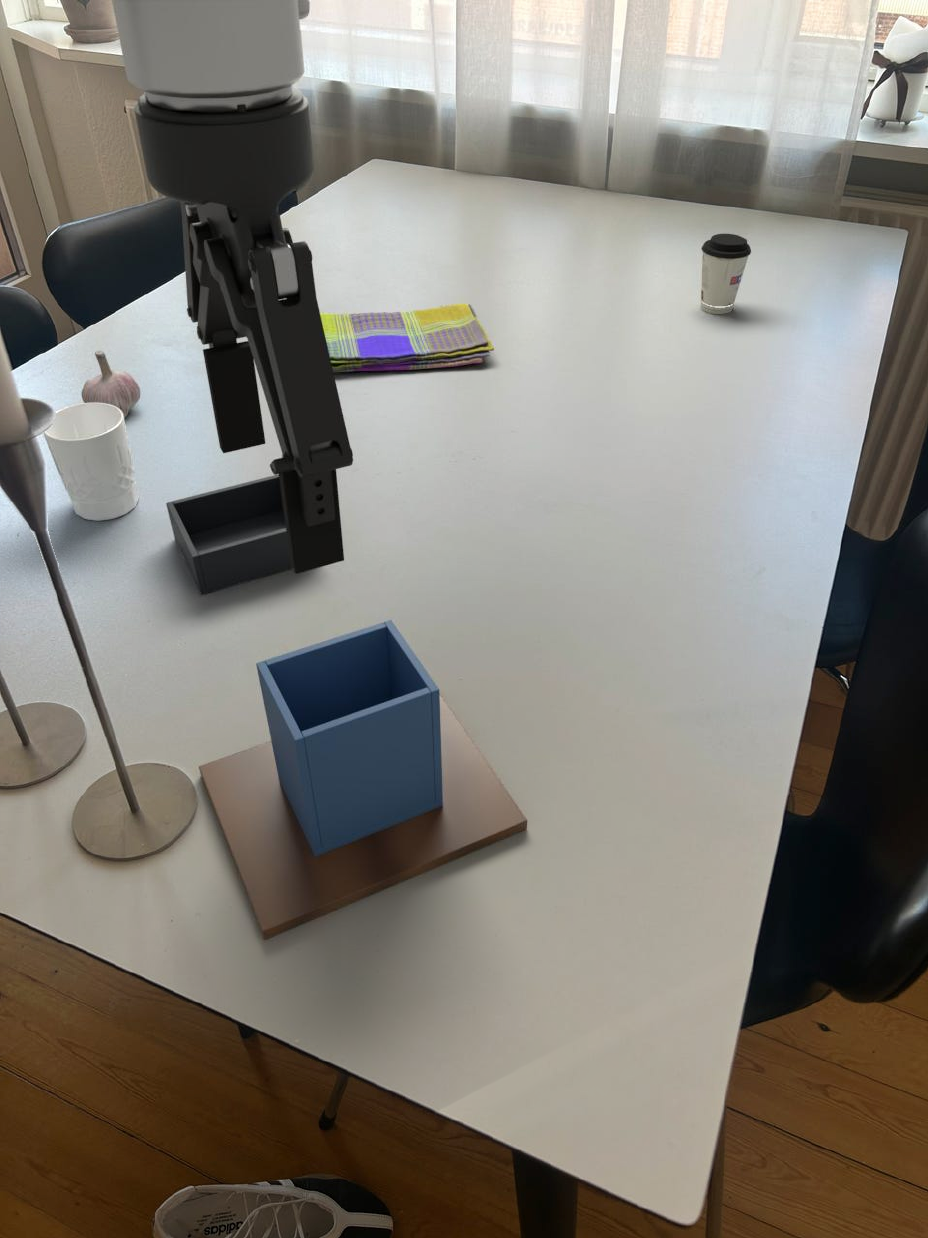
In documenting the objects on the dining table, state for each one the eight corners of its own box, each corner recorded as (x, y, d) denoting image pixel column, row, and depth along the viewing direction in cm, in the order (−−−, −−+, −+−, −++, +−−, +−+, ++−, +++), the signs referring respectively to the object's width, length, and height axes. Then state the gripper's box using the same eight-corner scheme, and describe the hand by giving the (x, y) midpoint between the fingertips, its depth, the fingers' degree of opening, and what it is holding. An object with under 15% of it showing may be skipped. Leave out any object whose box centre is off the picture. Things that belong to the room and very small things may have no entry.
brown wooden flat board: (264, 940, 64) (262, 932, 63) (200, 774, 75) (198, 766, 74) (527, 829, 71) (527, 820, 70) (433, 692, 82) (433, 683, 81)
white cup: (157, 488, 106) (137, 406, 100) (122, 529, 100) (98, 444, 94) (92, 480, 107) (68, 398, 101) (54, 519, 102) (25, 435, 95)
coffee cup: (685, 311, 142) (696, 242, 135) (701, 295, 147) (711, 227, 140) (732, 320, 139) (745, 250, 133) (746, 303, 144) (759, 235, 138)
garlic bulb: (127, 427, 116) (111, 366, 111) (72, 422, 118) (53, 360, 112) (155, 398, 122) (141, 338, 117) (102, 393, 123) (85, 333, 118)
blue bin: (314, 857, 68) (294, 740, 60) (278, 778, 73) (255, 662, 65) (443, 806, 71) (439, 689, 63) (399, 734, 77) (391, 619, 69)
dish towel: (309, 324, 139) (307, 305, 137) (476, 314, 142) (476, 295, 140) (311, 379, 126) (309, 359, 124) (495, 367, 128) (495, 347, 127)
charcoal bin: (201, 595, 92) (192, 557, 89) (174, 539, 99) (165, 502, 96) (322, 560, 96) (317, 522, 93) (288, 509, 103) (283, 472, 100)
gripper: (417, 150, 35) (427, 604, 49) (224, 34, 52) (272, 395, 66) (213, 176, 32) (284, 648, 46) (80, 45, 49) (161, 418, 63)
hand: (277, 500), depth 56 cm, fingers open, 13 cm apart
